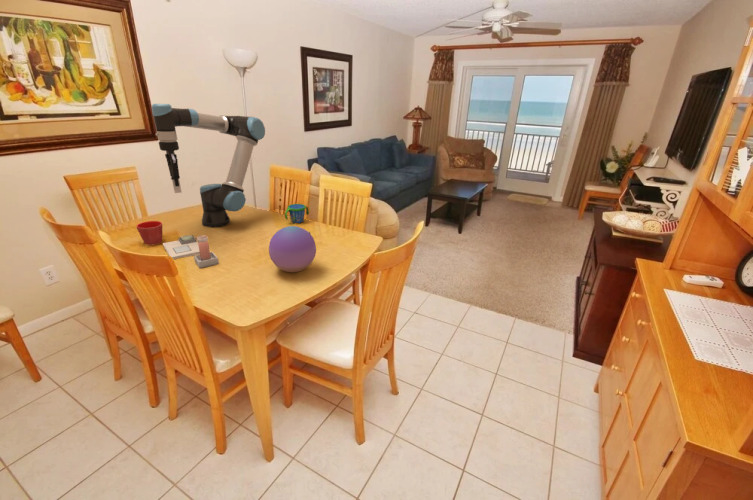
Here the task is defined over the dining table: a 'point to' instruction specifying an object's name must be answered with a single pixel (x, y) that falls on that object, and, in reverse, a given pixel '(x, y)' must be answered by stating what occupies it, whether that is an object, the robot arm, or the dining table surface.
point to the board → (182, 248)
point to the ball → (292, 249)
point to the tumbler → (203, 247)
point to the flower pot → (150, 232)
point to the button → (187, 238)
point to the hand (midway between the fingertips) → (178, 192)
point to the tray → (206, 261)
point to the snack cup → (297, 212)
